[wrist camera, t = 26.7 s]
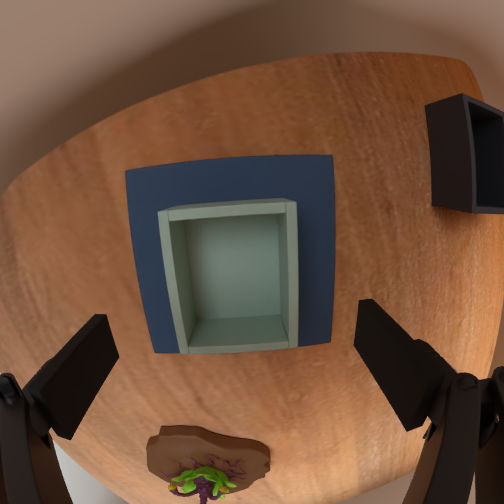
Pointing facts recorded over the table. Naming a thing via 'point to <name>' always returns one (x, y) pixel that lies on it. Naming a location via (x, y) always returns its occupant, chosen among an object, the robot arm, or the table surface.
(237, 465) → the plant
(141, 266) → the mat
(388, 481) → the table surface
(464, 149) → the bin lower
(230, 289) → the green open bin
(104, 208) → the table surface
